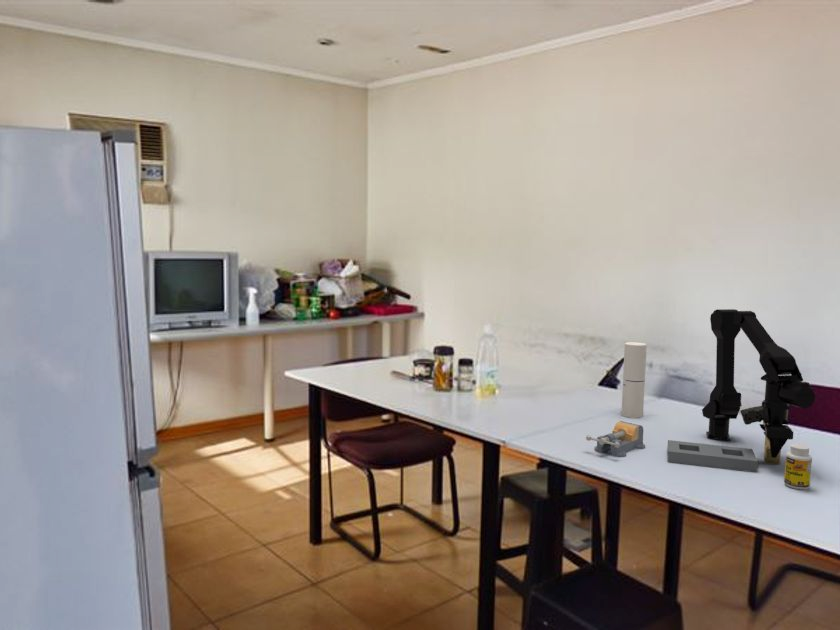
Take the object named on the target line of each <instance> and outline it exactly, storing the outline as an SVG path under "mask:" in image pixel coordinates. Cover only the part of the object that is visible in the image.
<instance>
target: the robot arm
mask: <svg viewBox="0 0 840 630" xmlns="http://www.w3.org/2000/svg"><path fill="white" fill-rule="evenodd" d="M709 320H710V329H711V331H712V333H713V334H714V337H715V338H716V355H715V356H716V357H715V358H716V361H715V362H716V363H715V364H716V365H715V372H716V373H715V386H714V388H713V389H712V391H711V392H710V394H709V400H708V403H707V404H706V405H705V406H704V407H703V408H701V411H702V416H703V418H706V419H708V431H705V432H706V437H707V439H709V440H710V439H711V440H718V441H719V440H721V441H729V442H730V441H731V440H732V439H731V435H730V433H729V432H730V422H731V421H730V420H732V419H734V420H736V419H738V418H737V417H738V415H739V412H740V415H741V417H742V420H743V424H745V425H747V426H748V425H751V424H752V423H759V424H758V425H759V427H760V428H761V429H762V431H763V434H764V436H766V437H768V438H769V443H770V451H771V457H773V458H776V457H777V455H778V453H779V452H780V450H781V451H782V449H783V447H784V445H785V444H786V443H787V441H788V440H794V430H792V428H791V427H790V426H789V420H788V411H789V410H790V405H791V406H794V407H796V408H800V409H804V410H806V409H809V408H810V407H812V405H814V403H815V399H816V395H815V392H814V390H813V389H812V388H811V387H810V382H808V381H804V379H803V376H802V372H801V371H800V369H799V366H798V364H797V361H796V358H795V357H794V356H793V355H792V354H791V353H790V352H789V351H788V350H787V349H786V348H784V347H782V346H779V345H778V344H777V343H776V342H775V340H774V339H773V338H772V337H771V335H770V334H769V333H768V332H767V330H766V329H765V328H764V326H763V325H762V323H761V322H760V321H759V319H758V317H757V315H756V313H755V312H754V311H752V310H738V309H733V308H732V309H730V308H729V309H719V308H718V309H715V310H713V312H712V313H711V314H710V317H709ZM741 330H742V332H743V333H744V334H745V336H746V337H747V338H748V340H749V341H750V343H751V344H752V346H754V347H753V348H755V350H756V351H757V353H758V355H759V360H758V361H759V363H760V365H761V368H762V369H763V371H764V373H765V374H764V375H762V376H761V377H760V380H761V381H764V382H765V390H764V391H765V392H764V399H763V400H762V401H761V405H759V406H753V407H748V408H744V409H741V407H742V393H741V392H738V391H737V389H736V388H735V351H736V350H735V347H736V345H735V344H736V343H735V342H736V337H738V336H739V334H740V332H741ZM761 423H762V424H761Z"/></svg>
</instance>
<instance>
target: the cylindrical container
mask: <svg viewBox="0 0 840 630" xmlns="http://www.w3.org/2000/svg"><path fill="white" fill-rule="evenodd" d="M647 348H648V344H647V343H644V342H639V341H638V342H637V341H634V342H633V341H632V342H631V341H627V342H625V343H624V352H623V353H624V354H623V356H624V357H623V371H622V372H623V373H622V374H623V375H622V393H621V394H622V395H621V396H622V397H621V411H620V413H621V416H622V417H625V418H629V419H640V418H643V417H644V408H645V407H644V404H645V388H646V386H645V385H646V367H647V366H646V364H647V351H648V349H647Z"/></svg>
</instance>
